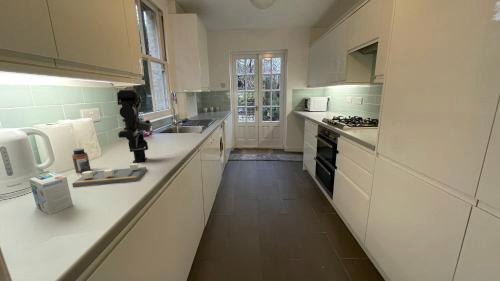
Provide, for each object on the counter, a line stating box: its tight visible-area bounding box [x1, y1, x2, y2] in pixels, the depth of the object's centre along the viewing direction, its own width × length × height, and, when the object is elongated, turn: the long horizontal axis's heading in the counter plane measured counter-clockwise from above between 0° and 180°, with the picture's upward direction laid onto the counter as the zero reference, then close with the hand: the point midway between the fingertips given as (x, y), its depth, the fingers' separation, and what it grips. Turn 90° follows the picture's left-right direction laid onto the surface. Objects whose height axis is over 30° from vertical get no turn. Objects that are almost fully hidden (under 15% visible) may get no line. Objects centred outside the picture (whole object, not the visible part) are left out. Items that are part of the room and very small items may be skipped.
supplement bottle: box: [71, 148, 91, 174], centre depth 102 cm, size 6×6×11 cm
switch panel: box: [71, 166, 147, 188], centre depth 95 cm, size 14×25×2 cm, turn 101°
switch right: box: [81, 170, 93, 179], centre depth 90 cm, size 2×3×3 cm, turn 101°
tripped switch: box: [129, 162, 140, 170], centre depth 99 cm, size 2×3×3 cm, turn 101°
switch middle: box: [104, 168, 114, 177], centre depth 91 cm, size 2×3×3 cm, turn 101°
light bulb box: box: [28, 171, 74, 215], centre depth 70 cm, size 11×7×11 cm, turn 62°
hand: (135, 147), depth 102 cm, fingers closed
